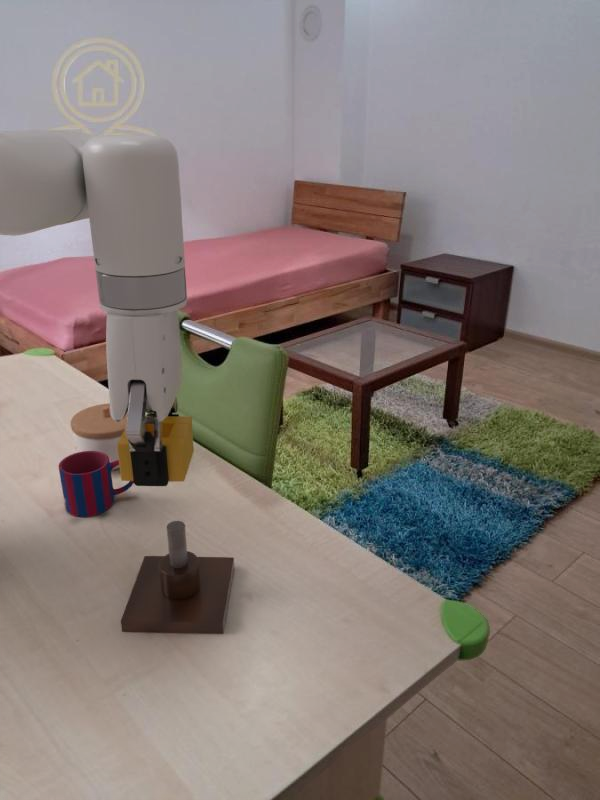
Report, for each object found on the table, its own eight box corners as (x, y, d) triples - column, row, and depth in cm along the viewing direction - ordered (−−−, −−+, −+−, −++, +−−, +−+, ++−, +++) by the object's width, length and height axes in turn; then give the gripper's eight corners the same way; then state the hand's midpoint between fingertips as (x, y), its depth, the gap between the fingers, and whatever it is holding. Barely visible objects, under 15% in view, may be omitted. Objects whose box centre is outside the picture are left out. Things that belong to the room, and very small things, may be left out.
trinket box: (159, 460, 102) (154, 407, 98) (99, 485, 95) (91, 430, 91) (123, 438, 109) (117, 388, 105) (64, 460, 101) (55, 407, 98)
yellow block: (121, 481, 60) (116, 444, 58) (135, 450, 65) (132, 415, 64) (184, 481, 60) (181, 445, 58) (193, 451, 65) (191, 416, 64)
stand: (121, 631, 68) (111, 557, 64) (145, 565, 78) (138, 497, 74) (223, 633, 68) (219, 559, 64) (234, 567, 78) (231, 498, 74)
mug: (69, 493, 93) (62, 452, 90) (139, 487, 95) (134, 447, 92) (61, 519, 87) (54, 476, 84) (136, 512, 89) (131, 470, 86)
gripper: (124, 265, 63) (140, 426, 71) (66, 316, 47) (95, 516, 55) (199, 266, 63) (208, 427, 71) (166, 318, 47) (182, 517, 55)
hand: (158, 464), depth 63 cm, fingers closed on yellow block, 6 cm apart
